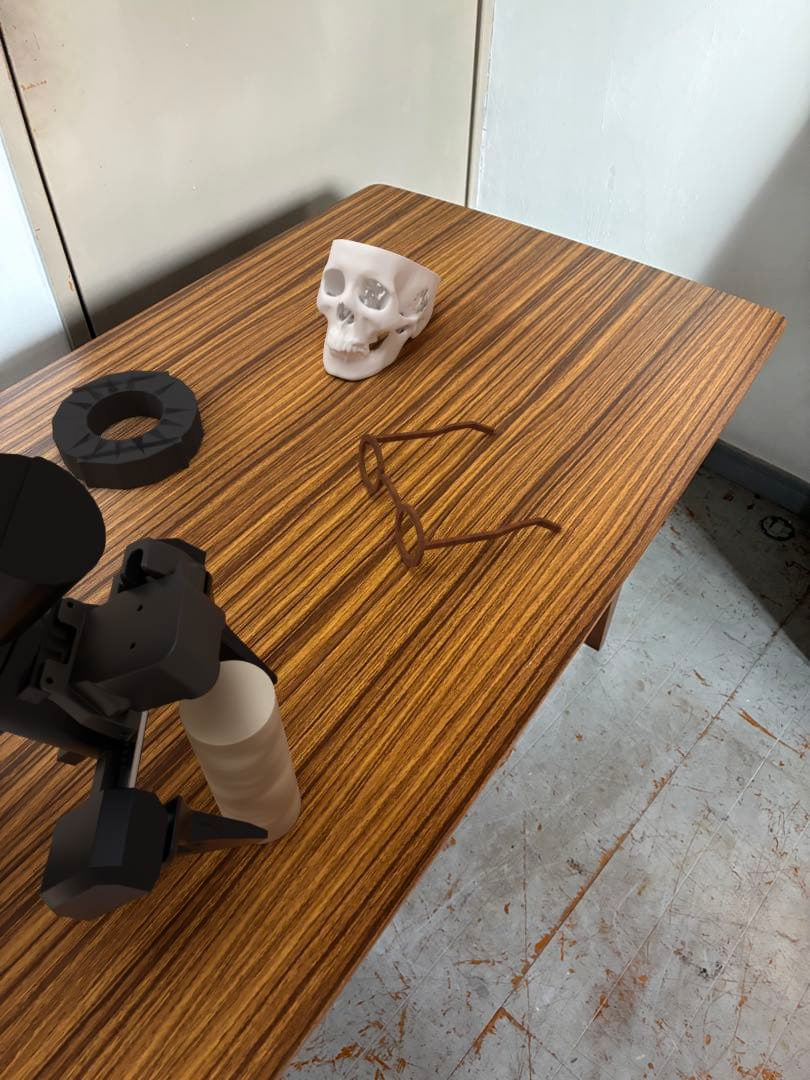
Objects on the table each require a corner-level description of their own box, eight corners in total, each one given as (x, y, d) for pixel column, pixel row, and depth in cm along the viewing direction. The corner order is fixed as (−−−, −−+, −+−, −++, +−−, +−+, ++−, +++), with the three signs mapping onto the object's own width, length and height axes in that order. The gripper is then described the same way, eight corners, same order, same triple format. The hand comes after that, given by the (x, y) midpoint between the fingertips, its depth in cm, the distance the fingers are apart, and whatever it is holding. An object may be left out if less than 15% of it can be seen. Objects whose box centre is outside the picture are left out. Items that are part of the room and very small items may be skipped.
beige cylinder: (243, 859, 48) (201, 762, 39) (211, 794, 51) (163, 688, 41) (314, 817, 50) (291, 714, 40) (279, 756, 53) (250, 645, 43)
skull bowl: (278, 362, 77) (304, 227, 73) (347, 359, 90) (372, 244, 86) (374, 394, 74) (407, 255, 70) (432, 387, 86) (463, 268, 82)
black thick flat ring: (212, 471, 70) (206, 445, 68) (65, 502, 68) (53, 476, 65) (193, 385, 77) (186, 359, 75) (61, 410, 75) (50, 384, 73)
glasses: (355, 469, 70) (352, 425, 66) (492, 431, 73) (497, 387, 69) (413, 582, 62) (413, 539, 58) (564, 534, 65) (573, 490, 61)
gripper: (18, 798, 27) (370, 890, 35) (120, 419, 39) (363, 557, 47) (-110, 889, 32) (220, 949, 41) (14, 535, 44) (248, 639, 53)
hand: (268, 755), depth 45 cm, fingers open, 9 cm apart
